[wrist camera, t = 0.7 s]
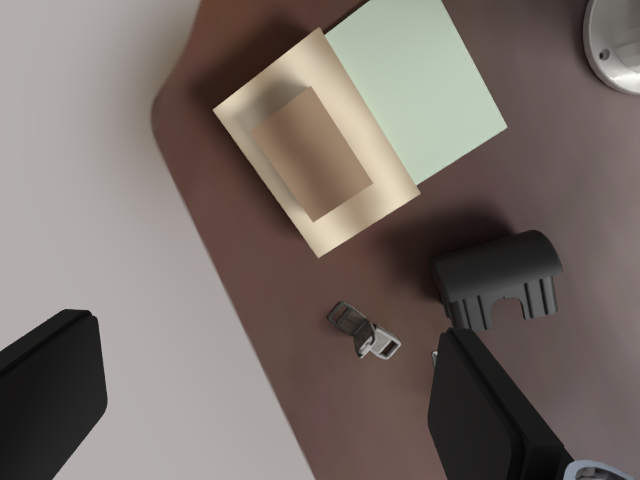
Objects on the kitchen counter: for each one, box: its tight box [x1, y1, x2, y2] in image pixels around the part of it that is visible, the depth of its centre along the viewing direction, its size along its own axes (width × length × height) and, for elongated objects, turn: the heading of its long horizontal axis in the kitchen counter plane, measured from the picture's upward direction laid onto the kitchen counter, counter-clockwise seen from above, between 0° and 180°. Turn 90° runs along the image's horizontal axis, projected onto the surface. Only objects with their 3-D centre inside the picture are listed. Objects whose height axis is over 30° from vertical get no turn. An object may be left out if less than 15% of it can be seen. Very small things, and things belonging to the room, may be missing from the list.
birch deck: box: [213, 27, 421, 258], centre depth 34 cm, size 11×16×4 cm
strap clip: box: [328, 302, 401, 359], centre depth 39 cm, size 8×3×4 cm, turn 54°
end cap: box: [429, 230, 563, 333], centre depth 35 cm, size 10×7×7 cm
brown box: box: [250, 86, 373, 223], centre depth 31 cm, size 6×9×2 cm, turn 34°
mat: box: [324, 0, 507, 185], centre depth 33 cm, size 10×16×1 cm, turn 34°
